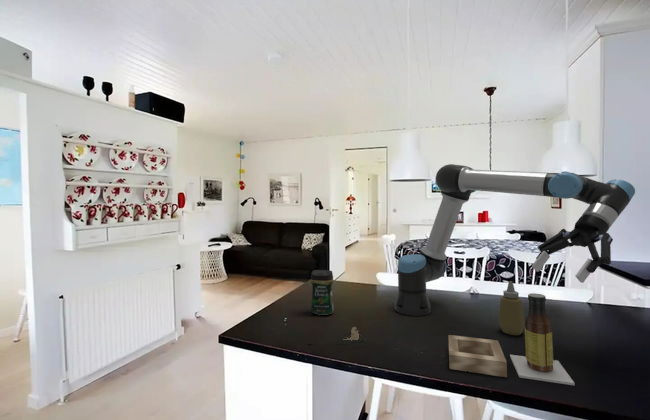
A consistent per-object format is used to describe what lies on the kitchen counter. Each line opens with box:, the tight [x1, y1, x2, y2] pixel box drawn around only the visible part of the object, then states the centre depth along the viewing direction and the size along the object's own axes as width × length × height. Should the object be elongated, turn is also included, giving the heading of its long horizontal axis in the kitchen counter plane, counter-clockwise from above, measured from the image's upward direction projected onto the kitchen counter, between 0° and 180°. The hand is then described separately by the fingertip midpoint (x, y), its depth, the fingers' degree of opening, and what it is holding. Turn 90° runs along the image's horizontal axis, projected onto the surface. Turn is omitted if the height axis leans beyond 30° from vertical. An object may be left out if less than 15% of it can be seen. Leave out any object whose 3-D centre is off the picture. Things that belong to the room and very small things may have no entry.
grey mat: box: [509, 354, 575, 386], centre depth 86 cm, size 12×12×1 cm
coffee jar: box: [310, 269, 335, 314], centre depth 135 cm, size 10×8×19 cm
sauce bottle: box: [524, 292, 554, 372], centre depth 86 cm, size 6×6×20 cm
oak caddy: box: [448, 334, 508, 378], centre depth 92 cm, size 14×14×4 cm
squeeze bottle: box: [498, 280, 525, 336], centre depth 111 cm, size 8×8×18 cm
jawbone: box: [343, 326, 360, 341], centre depth 107 cm, size 9×20×2 cm, turn 121°
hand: (555, 273), depth 93 cm, fingers open, 13 cm apart
